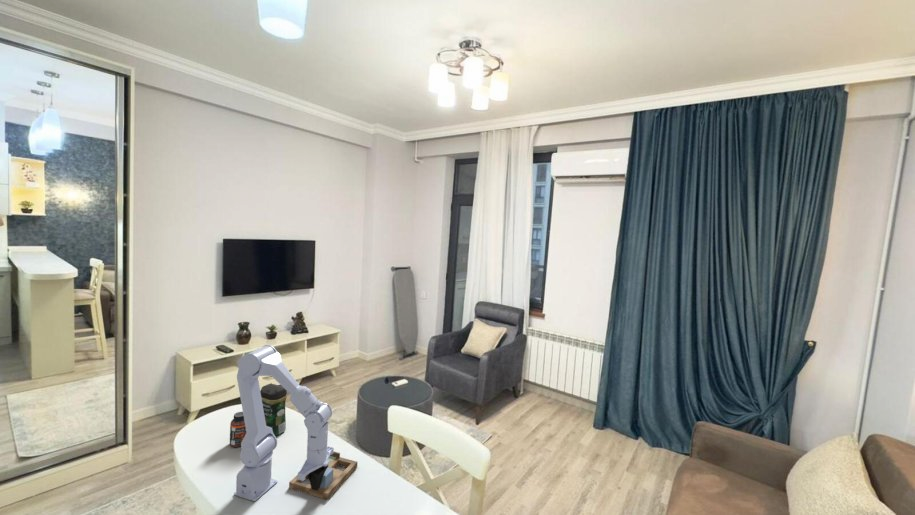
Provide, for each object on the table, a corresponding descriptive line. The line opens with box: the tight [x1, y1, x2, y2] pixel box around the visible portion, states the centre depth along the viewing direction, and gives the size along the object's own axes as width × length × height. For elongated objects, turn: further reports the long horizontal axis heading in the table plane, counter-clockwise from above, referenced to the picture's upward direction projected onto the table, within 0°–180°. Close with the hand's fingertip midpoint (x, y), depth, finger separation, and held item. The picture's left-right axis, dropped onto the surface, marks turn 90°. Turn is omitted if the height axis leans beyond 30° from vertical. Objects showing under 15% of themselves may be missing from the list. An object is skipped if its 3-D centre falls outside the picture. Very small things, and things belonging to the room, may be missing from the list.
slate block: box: [320, 468, 333, 489], centre depth 120 cm, size 4×4×4 cm
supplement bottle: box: [229, 411, 246, 448], centre depth 141 cm, size 6×6×11 cm
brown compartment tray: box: [288, 451, 359, 501], centre depth 126 cm, size 17×14×4 cm
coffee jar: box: [260, 382, 288, 437], centre depth 150 cm, size 10×8×19 cm
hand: (315, 488), depth 116 cm, fingers closed
